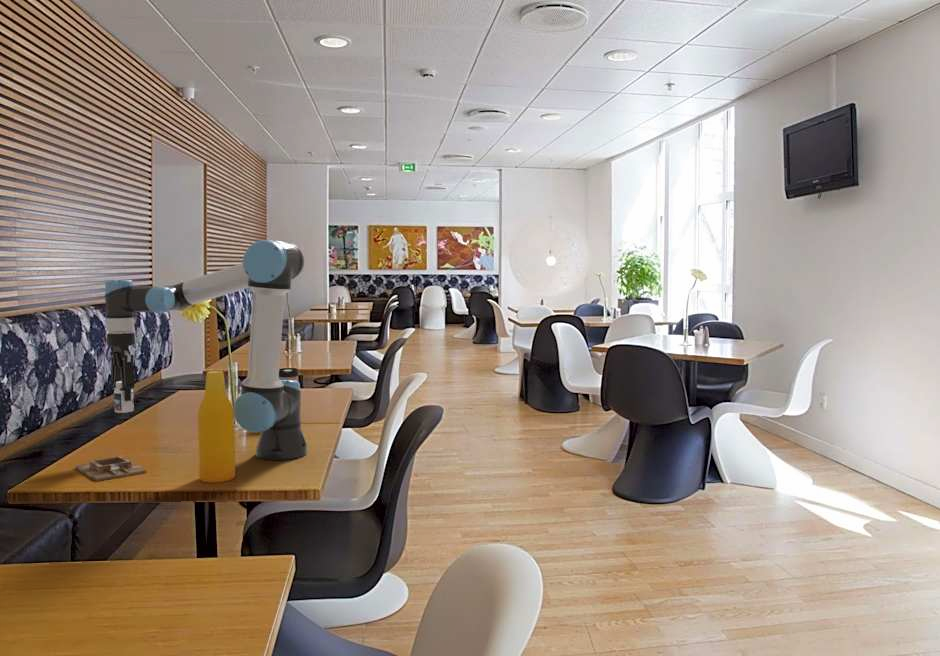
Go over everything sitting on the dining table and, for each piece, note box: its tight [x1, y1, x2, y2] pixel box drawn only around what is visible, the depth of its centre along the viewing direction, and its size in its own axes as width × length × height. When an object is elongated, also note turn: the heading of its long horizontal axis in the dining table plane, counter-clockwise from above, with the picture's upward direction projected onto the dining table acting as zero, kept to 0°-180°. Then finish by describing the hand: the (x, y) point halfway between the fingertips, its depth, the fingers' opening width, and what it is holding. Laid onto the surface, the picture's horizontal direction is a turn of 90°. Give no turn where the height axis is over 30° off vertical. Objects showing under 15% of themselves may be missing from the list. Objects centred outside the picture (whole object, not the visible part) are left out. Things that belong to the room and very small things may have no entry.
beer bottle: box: [197, 370, 236, 484], centre depth 204 cm, size 9×9×29 cm
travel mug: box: [279, 367, 299, 382], centre depth 277 cm, size 8×8×20 cm
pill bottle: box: [113, 381, 135, 414], centre depth 224 cm, size 5×5×9 cm
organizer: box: [75, 455, 147, 482], centre depth 213 cm, size 18×13×3 cm
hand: (123, 410), depth 224 cm, fingers closed on pill bottle, 5 cm apart
